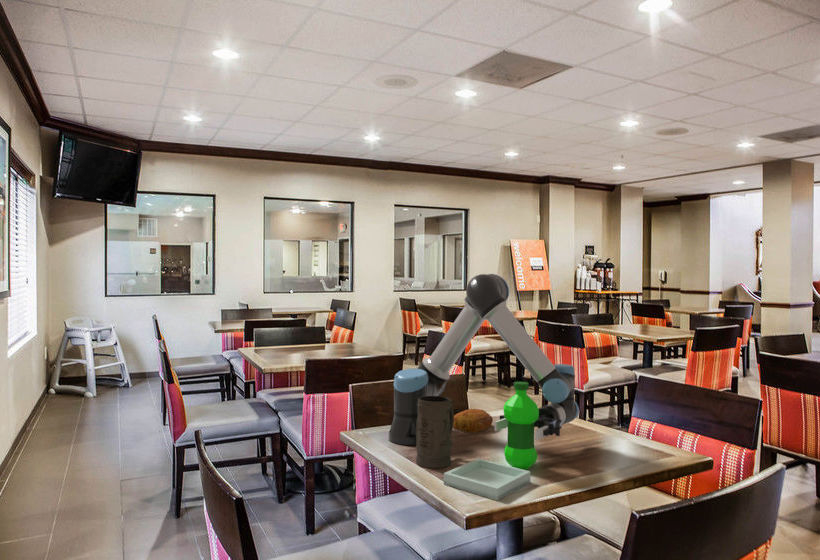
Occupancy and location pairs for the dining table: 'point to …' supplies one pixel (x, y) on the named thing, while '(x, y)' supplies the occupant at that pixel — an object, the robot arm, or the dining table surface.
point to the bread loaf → (472, 420)
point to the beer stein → (434, 431)
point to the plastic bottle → (520, 428)
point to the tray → (487, 478)
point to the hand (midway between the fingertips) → (515, 430)
